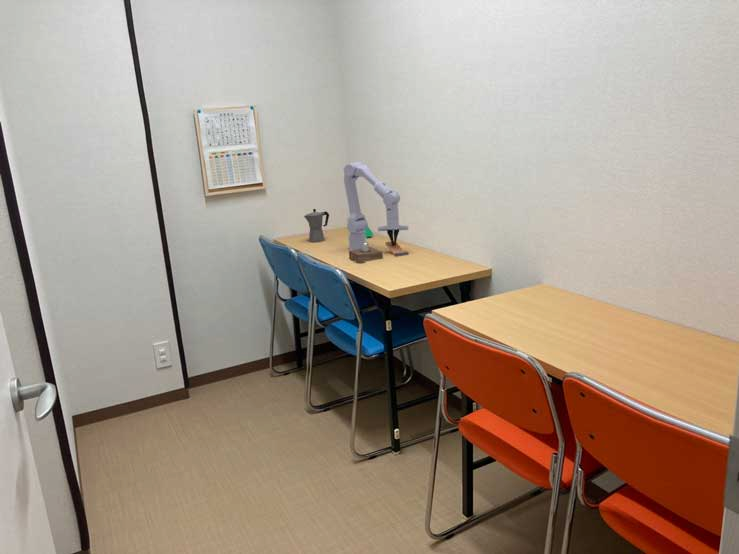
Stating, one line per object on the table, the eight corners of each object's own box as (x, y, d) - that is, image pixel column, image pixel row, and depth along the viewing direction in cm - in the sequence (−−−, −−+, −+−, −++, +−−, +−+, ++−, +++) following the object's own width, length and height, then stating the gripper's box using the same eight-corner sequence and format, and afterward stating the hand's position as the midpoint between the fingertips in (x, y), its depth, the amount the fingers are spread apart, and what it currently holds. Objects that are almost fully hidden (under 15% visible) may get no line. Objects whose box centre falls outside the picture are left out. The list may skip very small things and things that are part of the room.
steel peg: (361, 259, 280) (360, 242, 277) (367, 258, 281) (366, 241, 279) (364, 260, 277) (363, 243, 275) (370, 259, 278) (369, 243, 276)
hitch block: (349, 258, 282) (348, 250, 281) (371, 255, 286) (371, 247, 285) (359, 263, 271) (359, 255, 270) (382, 259, 276) (382, 251, 275)
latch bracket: (394, 257, 279) (394, 253, 279) (406, 255, 282) (406, 251, 282) (396, 258, 278) (396, 254, 277) (408, 255, 281) (408, 252, 280)
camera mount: (368, 235, 335) (367, 217, 332) (373, 237, 328) (372, 219, 326) (348, 238, 331) (347, 220, 329) (352, 240, 324) (351, 222, 322)
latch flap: (385, 244, 287) (385, 242, 287) (395, 242, 290) (395, 240, 289) (394, 257, 280) (395, 255, 280) (404, 255, 283) (405, 253, 282)
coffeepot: (310, 243, 321) (307, 211, 316) (302, 241, 329) (299, 209, 324) (334, 239, 329) (332, 207, 324) (326, 237, 337) (324, 206, 332)
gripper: (408, 215, 285) (409, 242, 288) (378, 216, 287) (380, 243, 290) (407, 217, 278) (408, 245, 281) (376, 219, 280) (378, 247, 283)
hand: (394, 245), depth 285 cm, fingers closed
